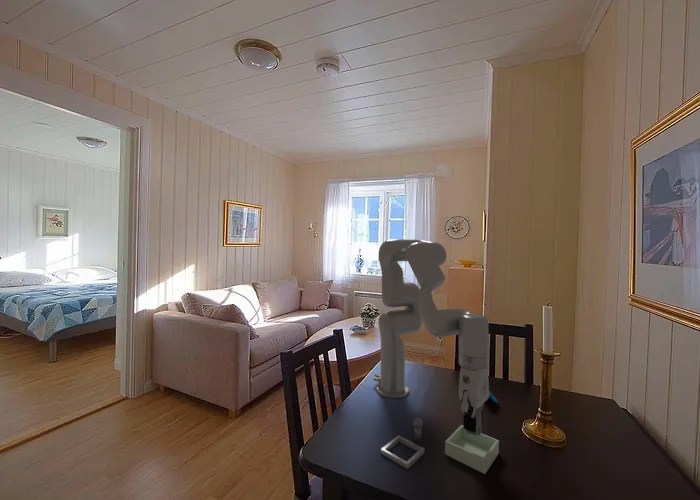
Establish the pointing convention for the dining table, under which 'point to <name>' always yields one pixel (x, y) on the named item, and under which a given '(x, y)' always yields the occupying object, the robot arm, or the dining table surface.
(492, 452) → the bin
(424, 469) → the dining table surface
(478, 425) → the grey cylinder
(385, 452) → the grey piece
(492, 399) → the blue plastic angled piece
